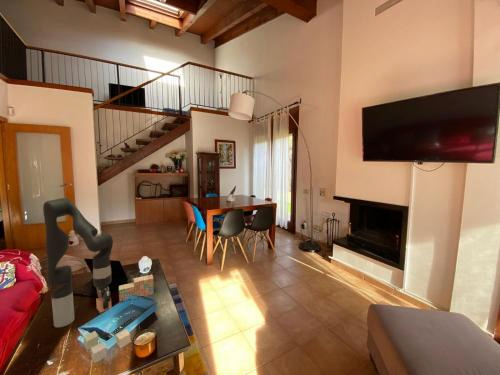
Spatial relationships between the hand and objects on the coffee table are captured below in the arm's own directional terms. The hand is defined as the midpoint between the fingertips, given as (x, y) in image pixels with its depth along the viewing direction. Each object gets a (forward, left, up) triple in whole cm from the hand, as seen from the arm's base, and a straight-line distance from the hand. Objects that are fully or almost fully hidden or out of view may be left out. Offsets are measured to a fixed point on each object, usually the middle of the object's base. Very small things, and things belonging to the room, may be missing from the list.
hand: (104, 306), depth 112 cm
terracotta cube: (0, 0, -1) cm, 1 cm away
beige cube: (+6, -5, -21) cm, 22 cm away
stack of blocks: (-30, +29, -21) cm, 46 cm away
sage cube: (-5, -5, -21) cm, 22 cm away
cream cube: (+6, +6, -21) cm, 23 cm away
